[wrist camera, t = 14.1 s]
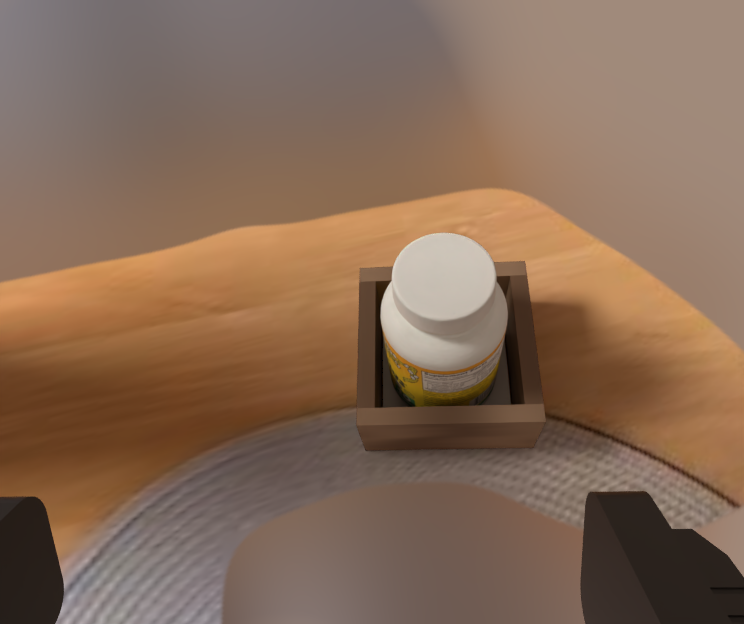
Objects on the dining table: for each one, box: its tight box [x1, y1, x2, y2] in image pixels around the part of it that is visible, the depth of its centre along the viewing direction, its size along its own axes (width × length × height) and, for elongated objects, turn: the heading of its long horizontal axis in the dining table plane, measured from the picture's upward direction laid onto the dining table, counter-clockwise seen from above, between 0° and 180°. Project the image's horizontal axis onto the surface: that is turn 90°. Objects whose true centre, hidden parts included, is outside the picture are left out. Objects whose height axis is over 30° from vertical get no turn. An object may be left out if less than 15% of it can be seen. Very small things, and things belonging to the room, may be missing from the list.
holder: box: [356, 261, 546, 450], centre depth 30 cm, size 8×8×4 cm
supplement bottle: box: [380, 233, 508, 407], centre depth 27 cm, size 5×5×10 cm
